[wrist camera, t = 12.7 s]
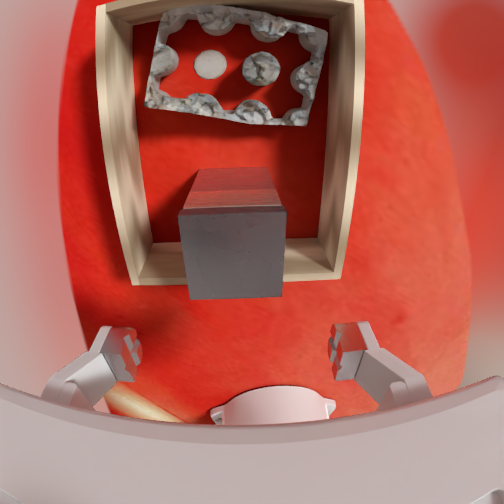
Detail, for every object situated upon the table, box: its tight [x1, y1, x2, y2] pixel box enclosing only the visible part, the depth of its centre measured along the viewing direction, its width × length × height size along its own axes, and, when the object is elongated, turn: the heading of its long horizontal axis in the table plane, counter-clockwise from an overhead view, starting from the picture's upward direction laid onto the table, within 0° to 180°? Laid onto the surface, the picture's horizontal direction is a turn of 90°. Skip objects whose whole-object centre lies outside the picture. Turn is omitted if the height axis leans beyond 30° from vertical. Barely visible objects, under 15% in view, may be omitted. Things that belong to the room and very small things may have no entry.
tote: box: [96, 0, 365, 285], centre depth 18 cm, size 21×15×5 cm
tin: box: [178, 167, 287, 300], centre depth 19 cm, size 5×5×8 cm
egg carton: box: [144, 5, 328, 126], centre depth 16 cm, size 11×8×4 cm
